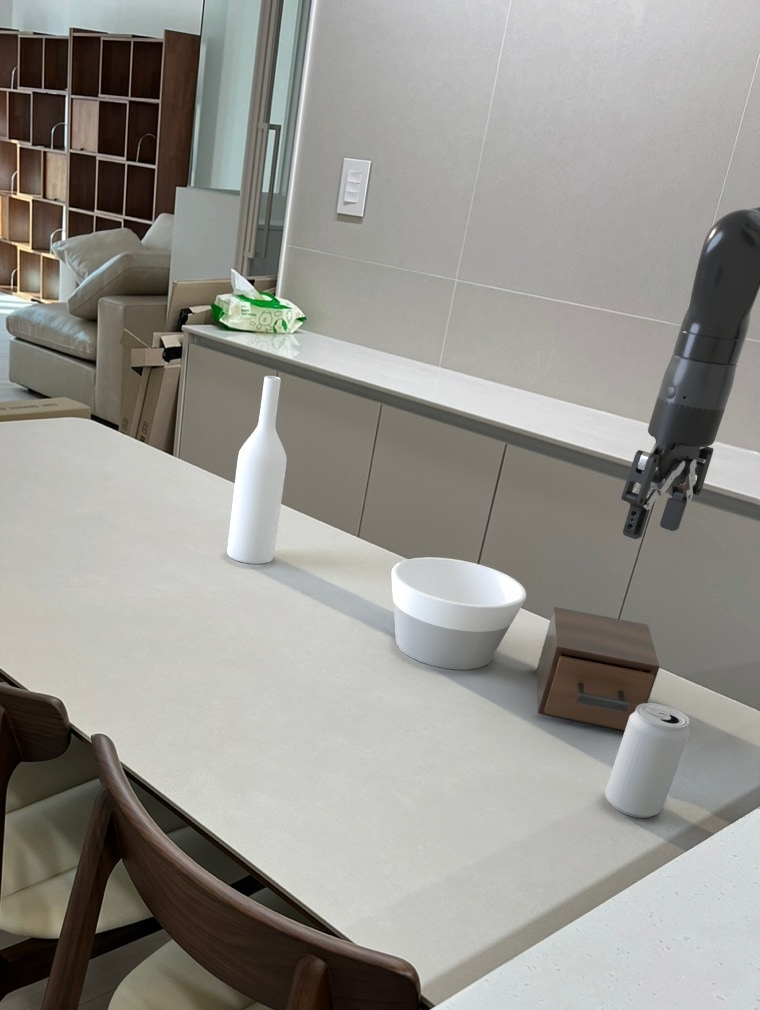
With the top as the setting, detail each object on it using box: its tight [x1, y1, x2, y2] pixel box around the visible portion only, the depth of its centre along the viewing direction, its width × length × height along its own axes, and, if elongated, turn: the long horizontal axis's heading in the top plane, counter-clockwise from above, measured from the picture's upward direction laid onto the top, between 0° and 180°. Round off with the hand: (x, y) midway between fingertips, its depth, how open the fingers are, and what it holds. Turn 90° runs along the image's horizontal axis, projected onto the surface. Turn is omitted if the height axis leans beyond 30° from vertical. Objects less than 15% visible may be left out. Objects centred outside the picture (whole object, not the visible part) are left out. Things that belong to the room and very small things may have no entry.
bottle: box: [226, 375, 288, 565], centre depth 176 cm, size 8×8×30 cm
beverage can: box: [604, 702, 690, 819], centre depth 119 cm, size 6×6×12 cm
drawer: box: [544, 654, 654, 730], centre depth 139 cm, size 18×12×8 cm, turn 166°
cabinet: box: [536, 606, 660, 732], centre depth 143 cm, size 15×13×10 cm
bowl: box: [391, 556, 527, 671], centre depth 153 cm, size 19×19×11 cm
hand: (650, 532), depth 130 cm, fingers open, 8 cm apart
